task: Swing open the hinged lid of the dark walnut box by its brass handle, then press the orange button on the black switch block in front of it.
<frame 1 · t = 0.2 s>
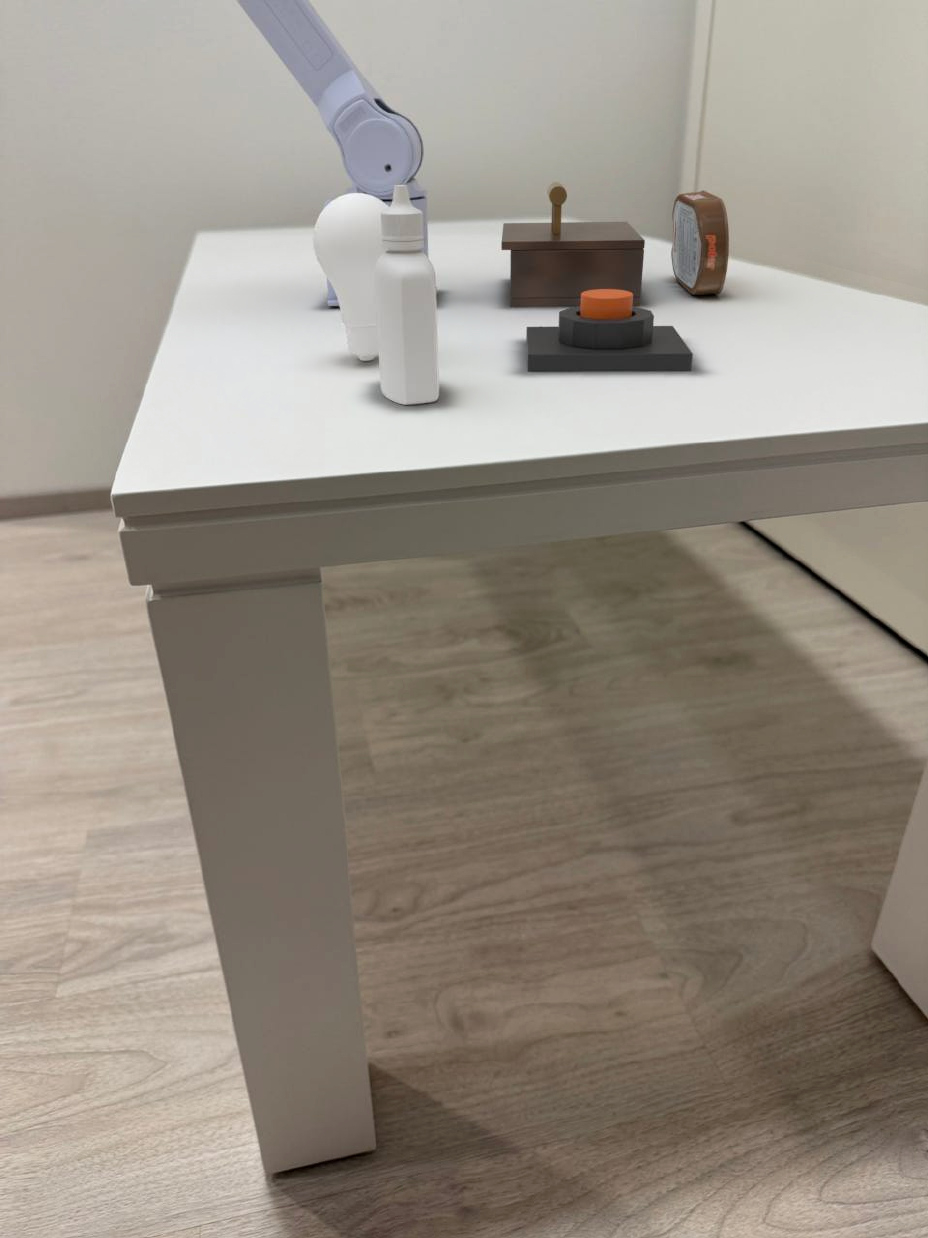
lightbulb: (367, 363, 67), on the table
switch block: (603, 356, 67), on the table
box: (570, 292, 89), on the table
tin: (692, 290, 91), on the table
eye dropper bottle: (409, 397, 59), on the table
lid: (569, 211, 86), point 7 cm above the table, hinge at 0.0°
button: (606, 306, 65), point 3 cm above the table, slide at 0.1 cm
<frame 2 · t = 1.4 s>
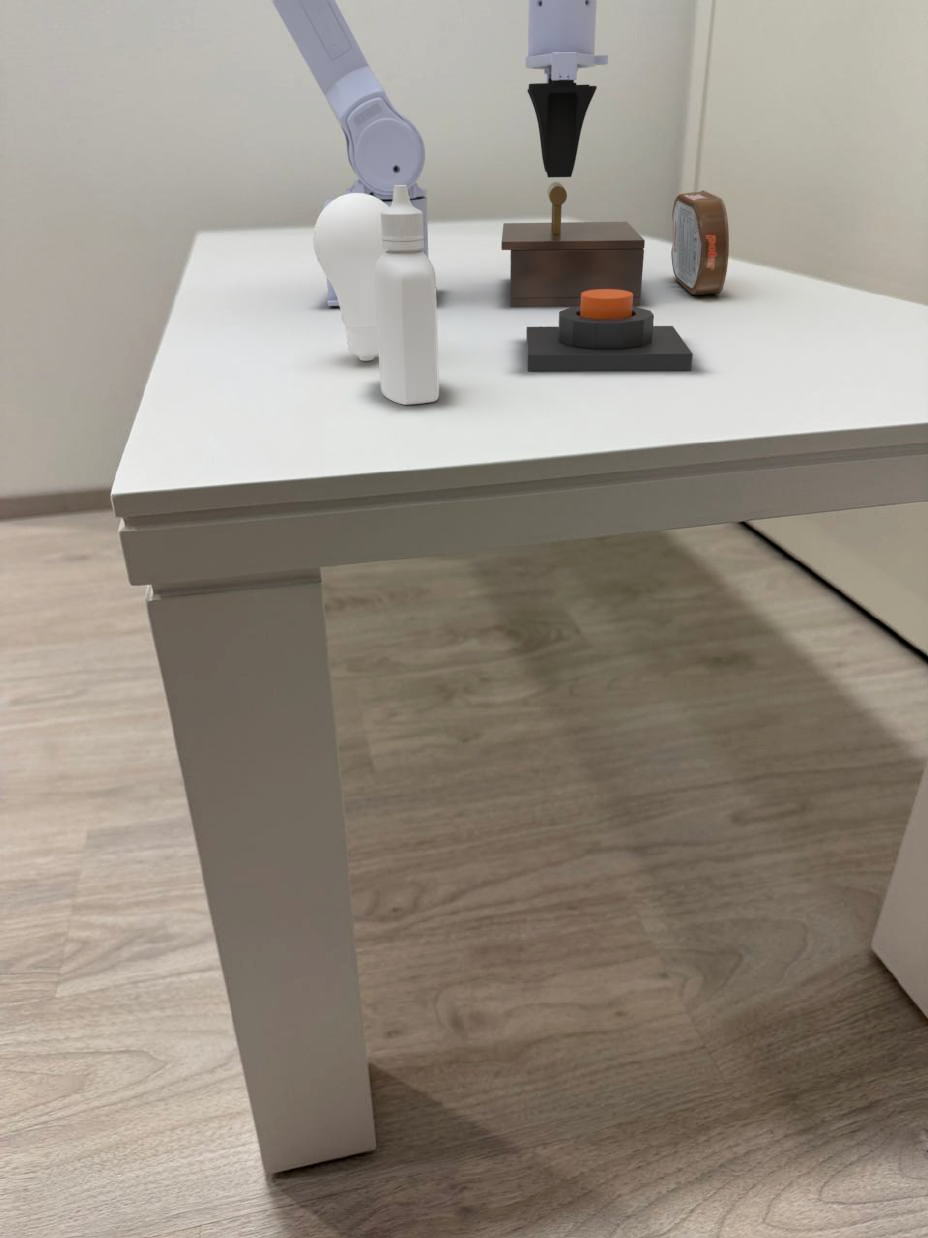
hand: (557, 174, 84), 10 cm above the table, tool pointing down, fingers open, 7 cm apart
nothing on the table moved.
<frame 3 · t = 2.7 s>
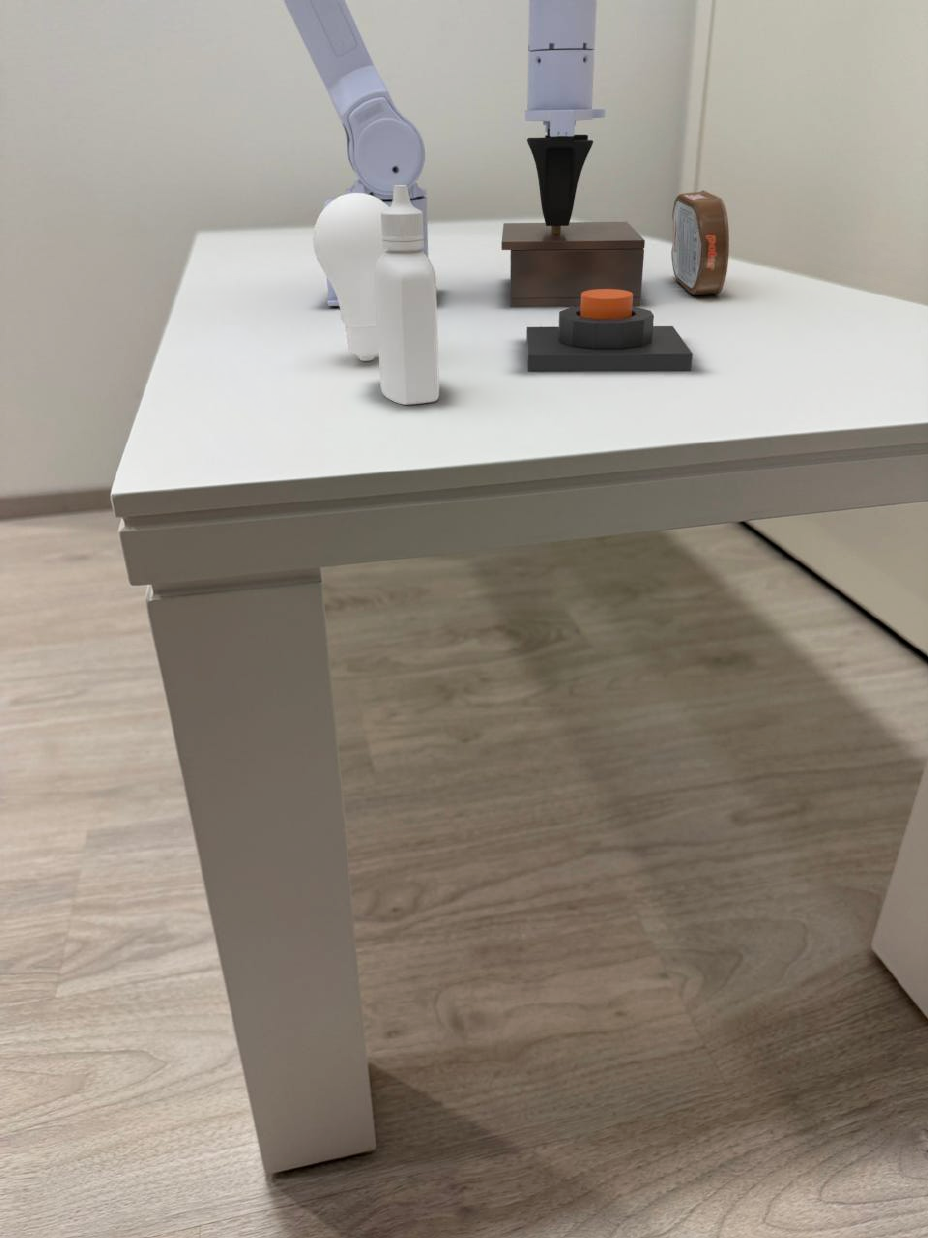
hand: (556, 222, 86), 6 cm above the table, tool pointing down, fingers closed on lid, 5 cm apart
lid: (569, 211, 86), point 7 cm above the table, hinge at 0.0°, touching gripper
everything else where it was.
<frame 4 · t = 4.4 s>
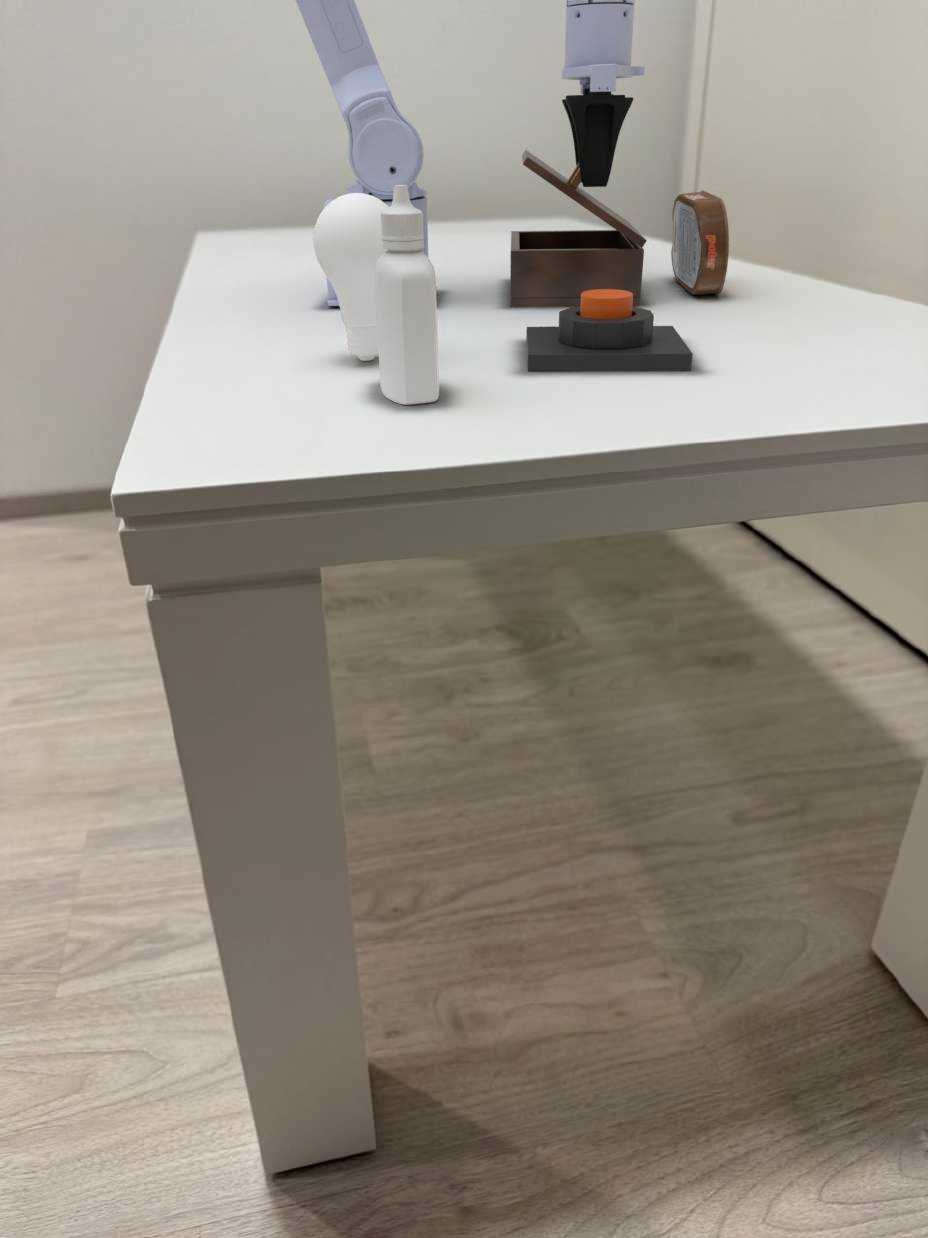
hand: (592, 184, 85), 9 cm above the table, tool pointing down, fingers closed on lid, 5 cm apart
lid: (593, 175, 84), point 10 cm above the table, hinge at 32.5°, touching gripper
everything else where it was.
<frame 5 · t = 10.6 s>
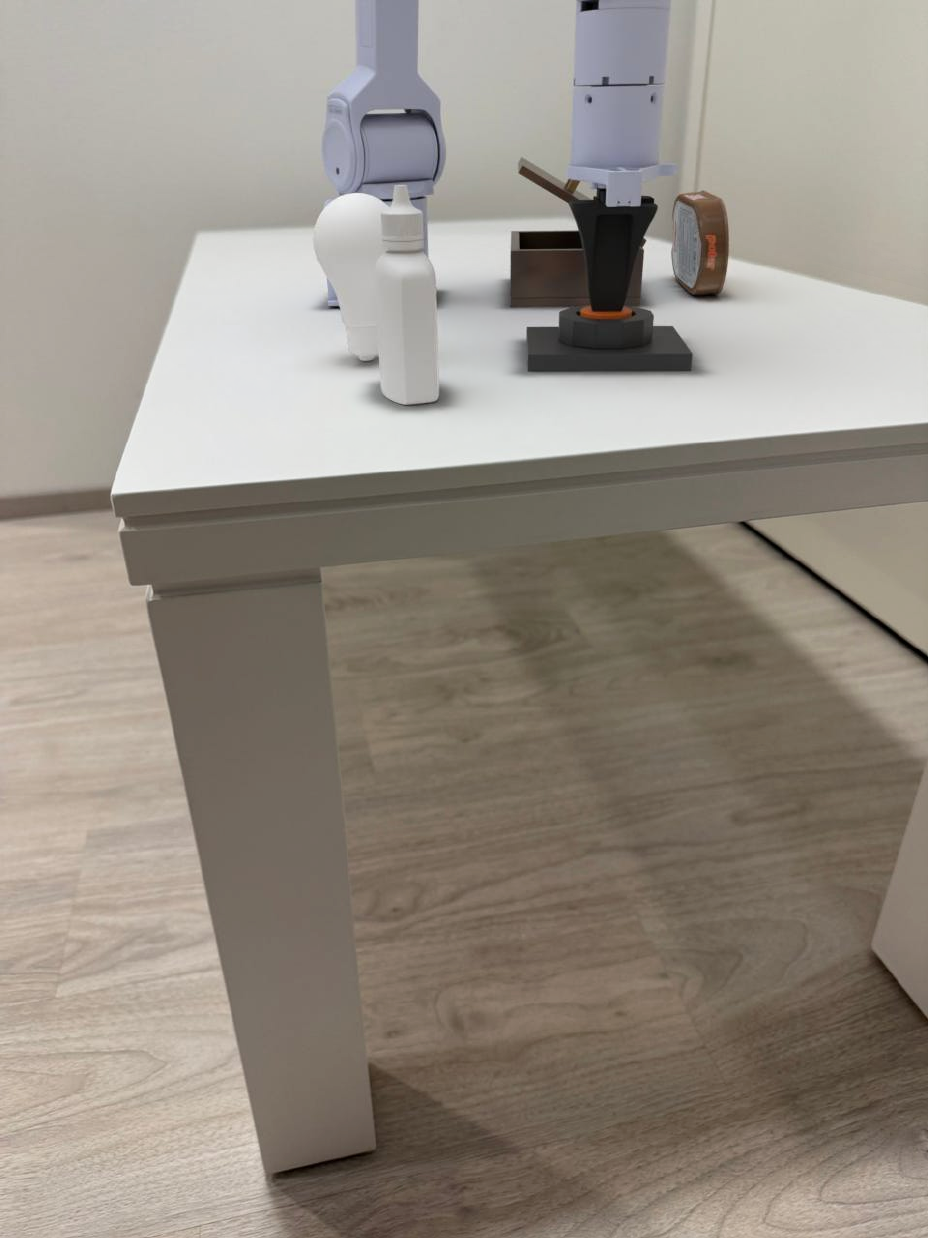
hand: (606, 309, 65), 3 cm above the table, tool pointing down, fingers closed, pressing on button
lid: (589, 178, 84), point 10 cm above the table, hinge at 29.0°
button: (605, 322, 65), point 2 cm above the table, slide at -1.0 cm, touching gripper
everything else where it was.
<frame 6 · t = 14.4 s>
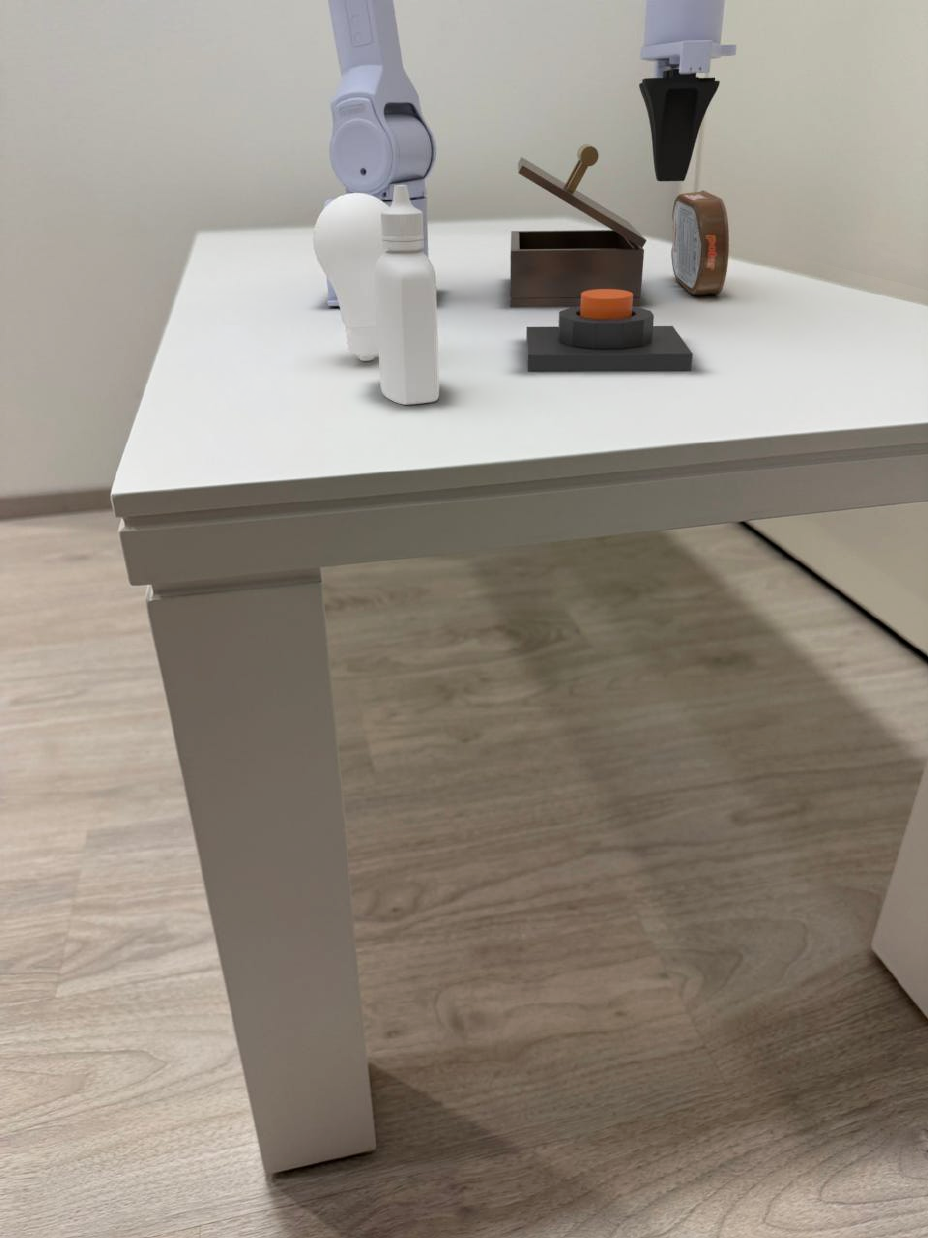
hand: (670, 180, 74), 10 cm above the table, tool pointing down, fingers closed
button: (606, 306, 65), point 3 cm above the table, slide at 0.1 cm
everything else where it was.
at the end: lid at +29° (first picture: +0°); button pushed in 1.2 cm at the most during the clip, back to where it started at the end; button slide at 0.1 cm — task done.
